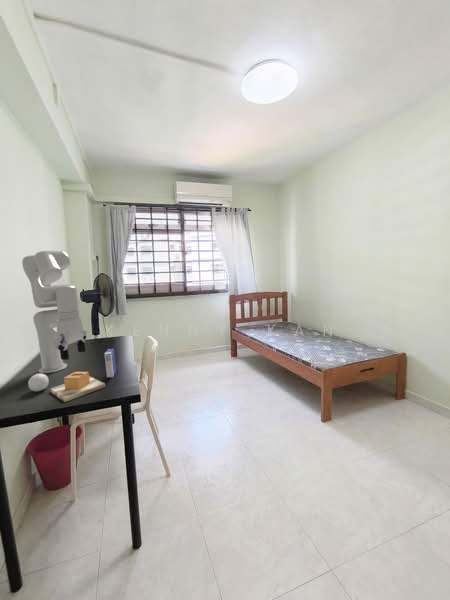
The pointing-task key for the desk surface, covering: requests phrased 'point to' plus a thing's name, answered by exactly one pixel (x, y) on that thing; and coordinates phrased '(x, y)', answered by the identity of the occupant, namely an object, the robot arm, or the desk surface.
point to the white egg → (38, 382)
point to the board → (72, 393)
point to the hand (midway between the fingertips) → (73, 355)
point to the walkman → (110, 362)
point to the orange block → (76, 380)
